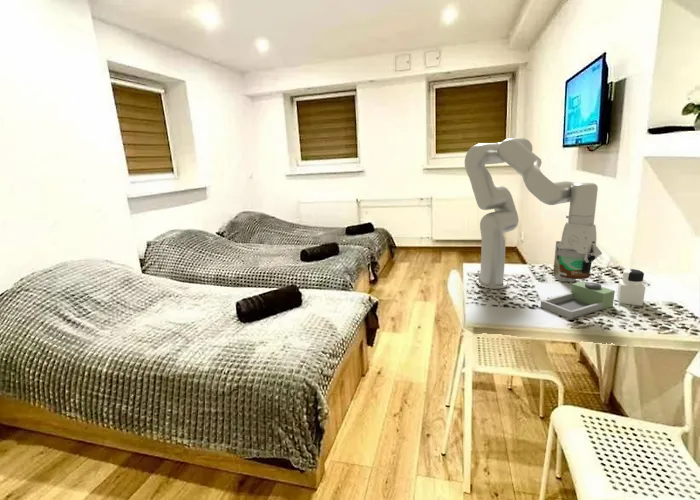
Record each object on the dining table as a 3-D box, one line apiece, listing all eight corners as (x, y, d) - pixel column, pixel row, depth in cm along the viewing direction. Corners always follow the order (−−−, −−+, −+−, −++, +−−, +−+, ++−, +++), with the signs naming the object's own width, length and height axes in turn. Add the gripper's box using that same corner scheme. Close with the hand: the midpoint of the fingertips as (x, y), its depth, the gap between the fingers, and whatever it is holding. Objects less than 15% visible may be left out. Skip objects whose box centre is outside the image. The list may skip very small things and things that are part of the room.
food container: (564, 280, 129) (566, 252, 127) (555, 276, 135) (557, 248, 133) (601, 279, 128) (603, 250, 126) (590, 274, 134) (592, 247, 132)
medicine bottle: (639, 299, 140) (644, 268, 137) (642, 306, 134) (647, 274, 131) (616, 296, 144) (620, 266, 141) (618, 303, 138) (622, 272, 135)
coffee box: (575, 281, 161) (579, 245, 157) (559, 281, 162) (562, 245, 158) (568, 275, 170) (571, 240, 166) (552, 274, 171) (555, 240, 167)
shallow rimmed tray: (540, 306, 138) (542, 289, 136) (581, 295, 146) (583, 278, 144) (570, 319, 127) (572, 299, 125) (612, 306, 135) (615, 288, 134)
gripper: (550, 217, 134) (546, 265, 138) (599, 224, 118) (593, 278, 123) (565, 215, 137) (561, 262, 141) (614, 222, 121) (607, 274, 126)
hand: (576, 269), depth 132 cm, fingers closed on food container, 6 cm apart
